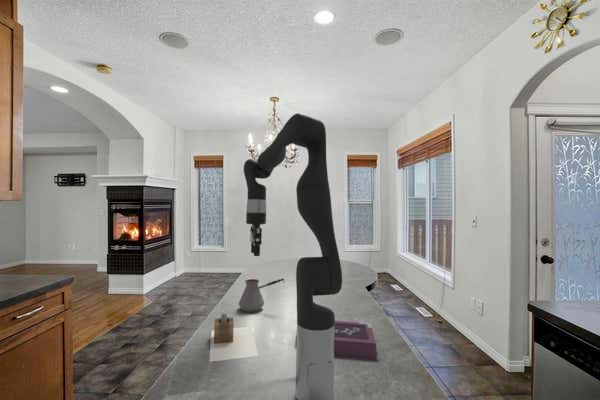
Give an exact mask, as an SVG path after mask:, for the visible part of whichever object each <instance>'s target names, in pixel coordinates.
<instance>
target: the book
mask: <svg viewBox="0 0 600 400" xmlns="http://www.w3.org/2000/svg"><path fill="white" fill-rule="evenodd" d="M371 323H372V322H363V321H361V322H360V321H358V322H356V321H355V322H354V321H341V320H335V331H334V355H335V356H336V355H338V356H349V357H350V356H351V357H357V358H358V357H360V358H371V359H376V358H377V341H376V339H375V334H374V332H373V325H372V324H371ZM296 346H297V334H296V335H295V347H296Z"/></svg>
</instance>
